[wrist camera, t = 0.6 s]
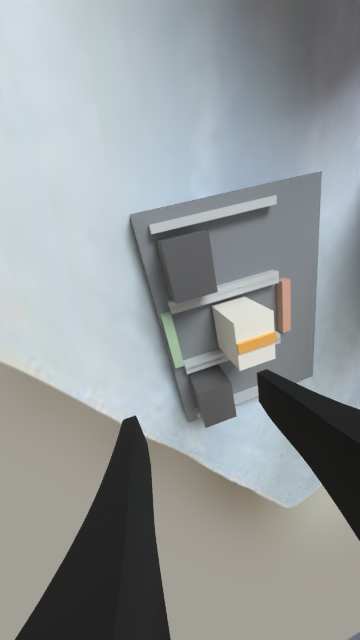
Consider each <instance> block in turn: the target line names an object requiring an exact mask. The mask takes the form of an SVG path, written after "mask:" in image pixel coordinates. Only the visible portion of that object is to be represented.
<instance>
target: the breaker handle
mask: <svg viewBox="0 0 360 640" xmlns="http://www.w3.org/2000/svg"><path fill="white" fill-rule="evenodd" d="M212 310H213V316H214V322H215V328H216V334H217V340H218V346H219V347H220V348H221V350H222V351H223V352H224V353H225V354H226V355H227V357H228V358H229V359H230V360H231V361H232V362H233V364H234V365H235V366H236V367H237V368H238V370H239V371H241V370H244V369H247V368H250V367H253V366H256V365H258V364H261V363H264V362H267V361H270V360H273V359H276V357H275V342H277V339H276V332H275V331H274V311H273V310H271V309H269V308H267V307H265V306H263V305H261V304H259V303H257V302H255V301H253V300H251V299H249V298H247V297H245V296H244V297H240V298H237V299H234V300H230V301H227V302H224V303H220V304H217V305H214V306H212Z"/></svg>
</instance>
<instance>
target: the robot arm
mask: <svg viewBox="0 0 360 640" xmlns="http://www.w3.org/2000/svg"><path fill="white" fill-rule="evenodd" d="M257 383H258V395H259V402H260V403H261V405H262V407H263V408H264V410H265V411H266V413H267V414H268V416H269V417H270V419H271V420H272V421H273V422H274V424H275V425H276V426H277V427H278V428H279V430H280V431H281V432H282V433H283V435H284V436H285V437H286V438H287V439H288V441H289V442H290V443H291V444H292V445H293V447H294V448H295V449H296V450H297V451H298V453H299V454H300V455H301V456H302V457H303V459H304V460H305V461H306V462H307V464H308V465H309V466H310V468H311V469H312V471H313V472H314V473H315V475H316V476H317V478H318V479H319V481H320V482H321V483H322V485H323V486H324V487H325V489H326V490H327V492H328V494H329V495H330V496H331V498H332V499H333V501H334V502H335V504H336V505H337V507H338V508H339V510H340V511H341V513H342V514H343V516H344V517H345V519H346V520H347V522H348V524H349V525H350V527H351V528H352V530H353V531H354V533H355V534H356V536H357V537H358V539H359V540H360V410H359V409H356V408H353V407H351V406H348V405H345V404H342V403H340V402H337V401H335V400H332V399H330V398H327V397H325V396H322V395H320V394H318V393H316V392H313V391H311V390H309V389H307V388H305V387H302V386H300V385H298V384H296V383H294V382H292V381H290V380H288V379H286V378H284V377H282V376H280V375H278V374H276V373H274V372H272V371H270V370H268V369H266V370H263V371H260V372H257ZM15 640H171V639H170V634H169V626H168V620H167V613H166V607H165V601H164V593H163V587H162V580H161V573H160V566H159V558H158V551H157V543H156V536H155V526H154V511H153V494H152V477H151V464H150V457H149V451H148V445H147V442H146V439H145V436H144V434H143V432H142V429H141V427H140V424H139V422H138V420H137V417H136V416H133V417H130V418H127V419H124V420H123V422H122V425H121V428H120V432H119V435H118V439H117V442H116V445H115V448H114V451H113V454H112V456H111V459H110V462H109V465H108V468H107V470H106V473H105V475H104V478H103V480H102V483H101V485H100V488H99V490H98V492H97V495H96V497H95V499H94V501H93V503H92V506H91V508H90V510H89V512H88V514H87V516H86V518H85V521H84V522H83V524H82V526H81V528H80V530H79V532H78V534H77V536H76V538H75V540H74V542H73V544H72V546H71V547H70V549H69V551H68V553H67V555H66V557H65V558H64V560H63V562H62V564H61V565H60V567H59V569H58V570H57V572H56V574H55V575H54V577H53V579H52V581H51V583H50V584H49V586H48V587H47V589H46V591H45V593H44V594H43V596H42V598H41V599H40V601H39V603H38V604H37V606H36V607H35V609H34V611H33V612H32V614H31V615H30V617H29V619H28V621H27V622H26V623H25V625H24V626H23V628H22V629H21V631H20V633H19V634H18V636H17V637H16V639H15ZM347 640H360V632H359V633H357V634H356V635H354V636H352V637H350V638H348V639H347Z"/></svg>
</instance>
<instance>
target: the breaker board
mask: <svg viewBox="0 0 360 640" xmlns="http://www.w3.org/2000/svg"><path fill="white" fill-rule="evenodd" d="M321 175H322V171H321V172H316V173H312V174H307V175H303V176H298V177H294V178H290V179H285V180H281V181H276V182H272V183H267V184H263V185H259V186H254V187H250V188H245V189H241V190H237V191H232V192H228V193H223V194H219V195H214V196H210V197H206V198H201V199H197V200H192V201H188V202H183V203H179V204H175V205H170V206H166V207H161V208H157V209H153V210H148V211H144V212H139V213H135V214H130V219H131V222H132V226H133V230H134V233H135V237H136V240H137V244H138V247H139V251H140V254H141V258H142V261H143V265H144V268H145V272H146V275H147V279H148V283H149V286H150V290H151V293H152V297H153V300H154V304H155V307H156V311H157V314H158V318H159V321H160V325H161V328H162V332H163V336H164V339H165V343H166V346H167V350H168V353H169V357H170V360H171V364H172V367H173V371H174V374H175V378H176V381H177V385H178V388H179V392H180V396H181V399H182V403H183V406H184V410H185V413H186V416H187V419H188V422H190V421H192V420H195V419H198V418H202V420H203V423H204V425H205V427H206V428H207V427H209V426H212V425H215V424H217V423H220V422H223V421H225V420H228V419H231V418H233V417H236V410H235V405H236V404H238V403H241V402H244V401H247V400H249V399H252V398H255V397H257V396H259V395H258V383H257V372H260V371H263V370H266V369H268V370H270V371H272V372H274V373H276V374H278V375H280V376H282V377H284V378H286V379H288V380H290V381H292V382H294V383H295V382H298V381H300V380H303V379H306V378H308V377H311V376H312V374H313V351H314V329H315V307H316V285H317V263H318V241H319V219H320V197H321ZM244 296H245V297H247V298H249V299H251V300H253V301H255V302H257V303H259V304H261V305H263V306H265V307H267V308H269V309H271V310H273V311H274V331H275V332H276V339H277V342H275V357H276V359H273V360H270V361H267V362H264V363H261V364H258V365H256V366H253V367H250V368H247V369H244V370H241V371H239V370H238V368H237V367H236V366H235V365H234V364H233V362H232V361H231V360H230V359H229V358H228V357H227V355H226V354H225V353H224V352H223V351H222V350H221V348H220V347H219V346H218V340H217V334H216V328H215V322H214V316H213V310H212V306H214V305H217V304H220V303H224V302H227V301H230V300H234V299H237V298H240V297H244Z"/></svg>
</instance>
